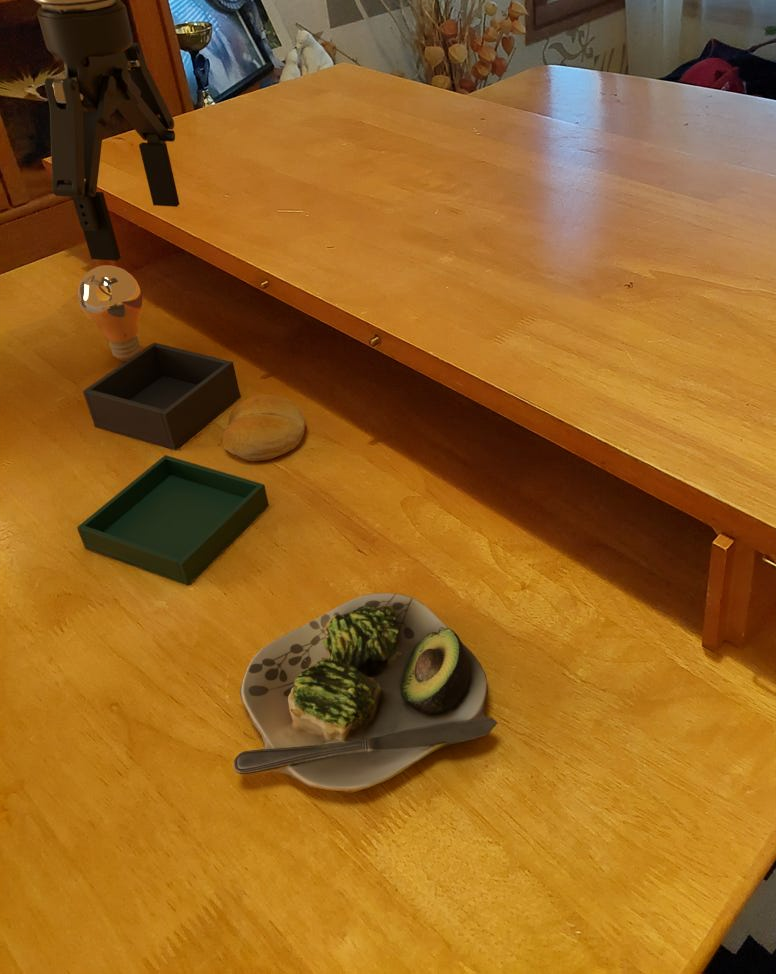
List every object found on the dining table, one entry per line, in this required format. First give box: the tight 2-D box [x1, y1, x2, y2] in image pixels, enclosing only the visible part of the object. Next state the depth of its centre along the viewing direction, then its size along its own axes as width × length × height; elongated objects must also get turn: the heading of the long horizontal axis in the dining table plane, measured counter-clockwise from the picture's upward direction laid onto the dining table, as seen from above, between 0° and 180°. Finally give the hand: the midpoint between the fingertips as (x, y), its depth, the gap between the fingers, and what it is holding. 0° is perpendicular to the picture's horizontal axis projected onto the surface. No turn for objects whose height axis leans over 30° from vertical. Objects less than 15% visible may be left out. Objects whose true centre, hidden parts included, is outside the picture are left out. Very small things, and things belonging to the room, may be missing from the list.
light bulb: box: [77, 264, 143, 362], centre depth 108 cm, size 7×7×12 cm
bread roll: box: [221, 393, 306, 462], centre depth 97 cm, size 8×9×4 cm
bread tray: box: [76, 454, 270, 586], centre depth 86 cm, size 12×12×3 cm
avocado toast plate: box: [233, 592, 499, 794], centre depth 68 cm, size 19×18×5 cm
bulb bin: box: [82, 342, 241, 451], centre depth 101 cm, size 11×11×5 cm
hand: (138, 230), depth 95 cm, fingers open, 13 cm apart
